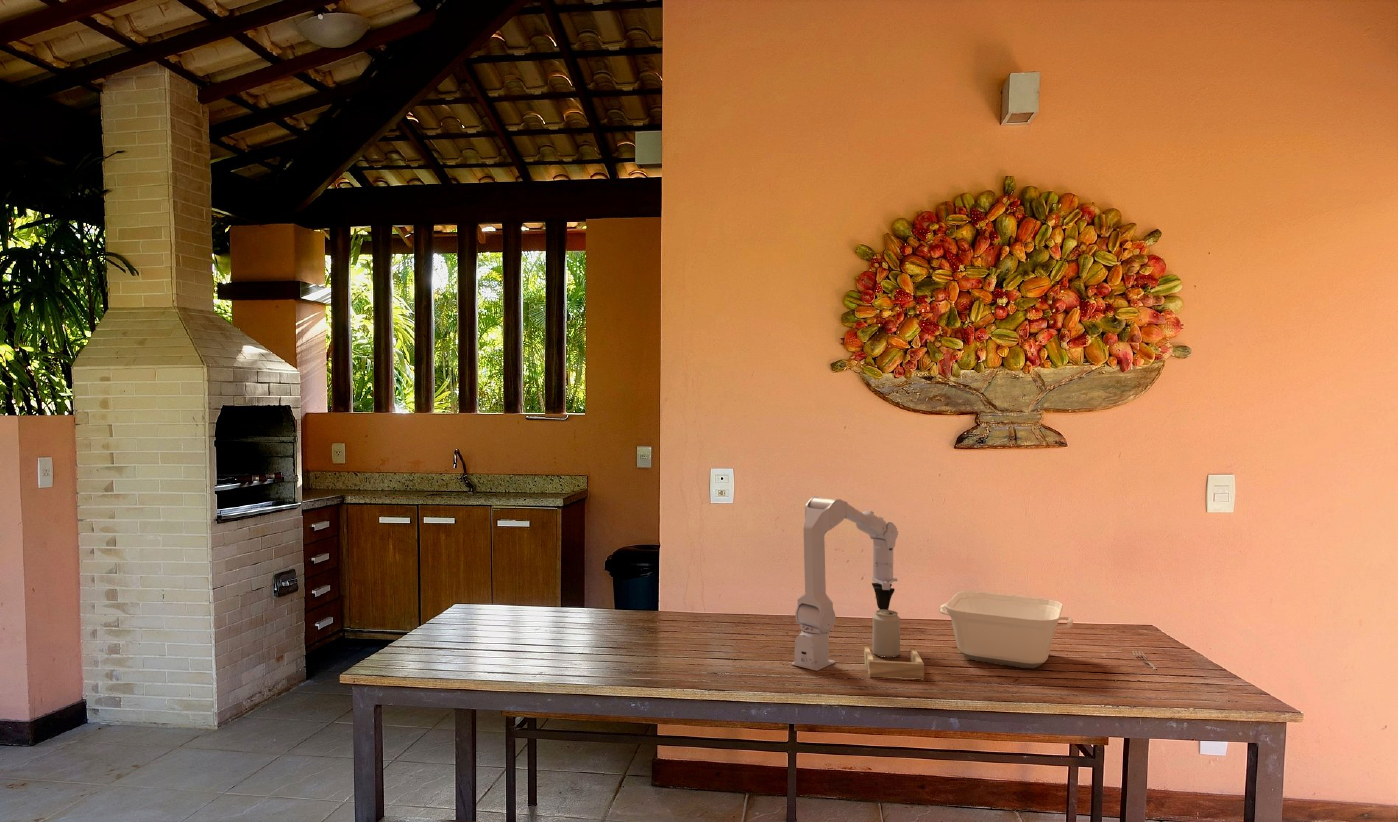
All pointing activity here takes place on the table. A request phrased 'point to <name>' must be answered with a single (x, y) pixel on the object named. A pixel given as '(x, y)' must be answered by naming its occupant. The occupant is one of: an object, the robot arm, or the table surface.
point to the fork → (1145, 656)
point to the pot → (1004, 627)
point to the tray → (894, 666)
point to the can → (886, 633)
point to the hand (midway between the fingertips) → (882, 610)
